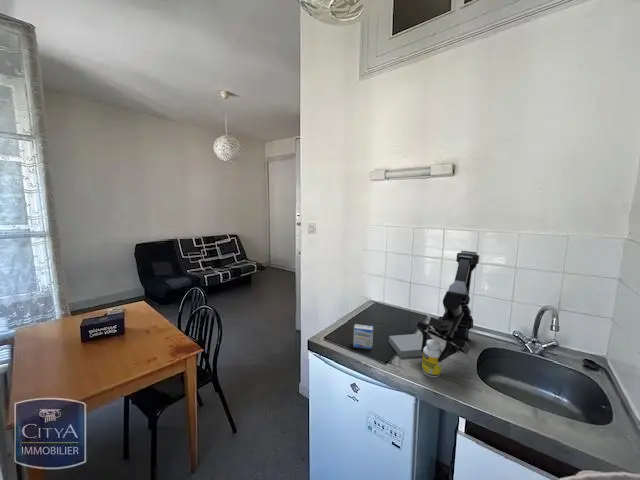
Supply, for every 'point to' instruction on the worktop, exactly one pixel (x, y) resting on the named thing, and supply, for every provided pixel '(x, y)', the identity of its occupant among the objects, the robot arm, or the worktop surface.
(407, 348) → the riser
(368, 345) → the medicine box
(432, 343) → the pill bottle
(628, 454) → the worktop surface
